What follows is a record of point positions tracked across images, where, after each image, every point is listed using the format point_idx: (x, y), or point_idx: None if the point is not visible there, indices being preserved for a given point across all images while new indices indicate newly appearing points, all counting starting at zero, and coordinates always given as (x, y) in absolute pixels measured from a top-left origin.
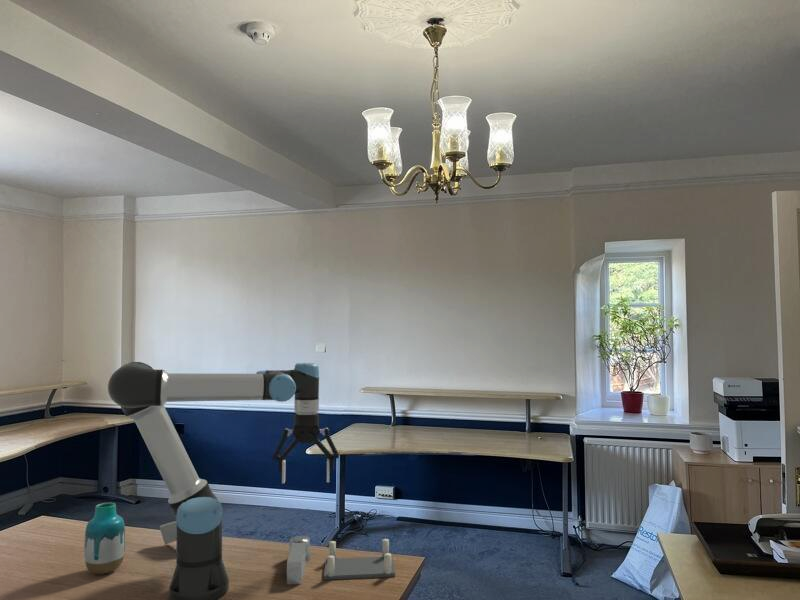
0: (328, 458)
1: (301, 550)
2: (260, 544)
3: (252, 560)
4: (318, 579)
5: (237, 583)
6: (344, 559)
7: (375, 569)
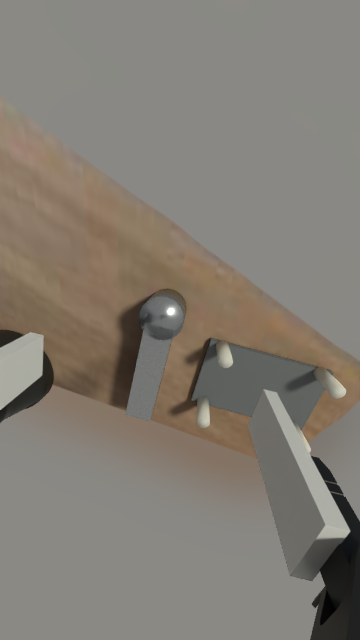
0: (317, 614)
1: (156, 377)
2: (93, 191)
3: (81, 279)
4: (183, 392)
5: (64, 361)
6: (243, 355)
7: None
